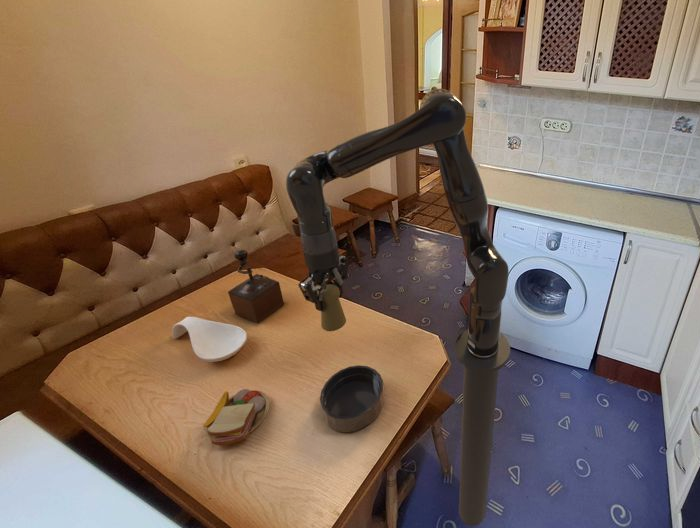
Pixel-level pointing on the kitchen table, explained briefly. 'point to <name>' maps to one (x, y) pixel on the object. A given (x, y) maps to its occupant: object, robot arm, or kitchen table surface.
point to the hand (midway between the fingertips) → (330, 302)
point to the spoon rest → (211, 338)
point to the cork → (332, 310)
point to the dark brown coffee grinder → (255, 294)
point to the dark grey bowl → (352, 398)
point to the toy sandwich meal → (236, 416)
